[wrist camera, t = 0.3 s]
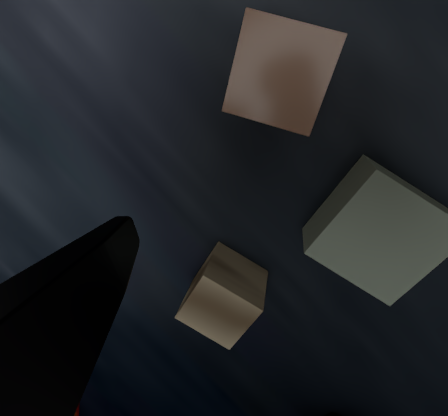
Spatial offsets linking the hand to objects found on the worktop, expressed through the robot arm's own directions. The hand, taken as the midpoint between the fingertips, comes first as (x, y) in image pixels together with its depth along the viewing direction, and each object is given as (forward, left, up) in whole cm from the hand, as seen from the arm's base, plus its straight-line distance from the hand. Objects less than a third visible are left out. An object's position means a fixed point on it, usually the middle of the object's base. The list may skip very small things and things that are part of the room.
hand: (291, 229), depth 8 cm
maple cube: (-13, -2, -15) cm, 20 cm away
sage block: (-2, -8, -15) cm, 17 cm away
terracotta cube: (+3, +3, -15) cm, 15 cm away
